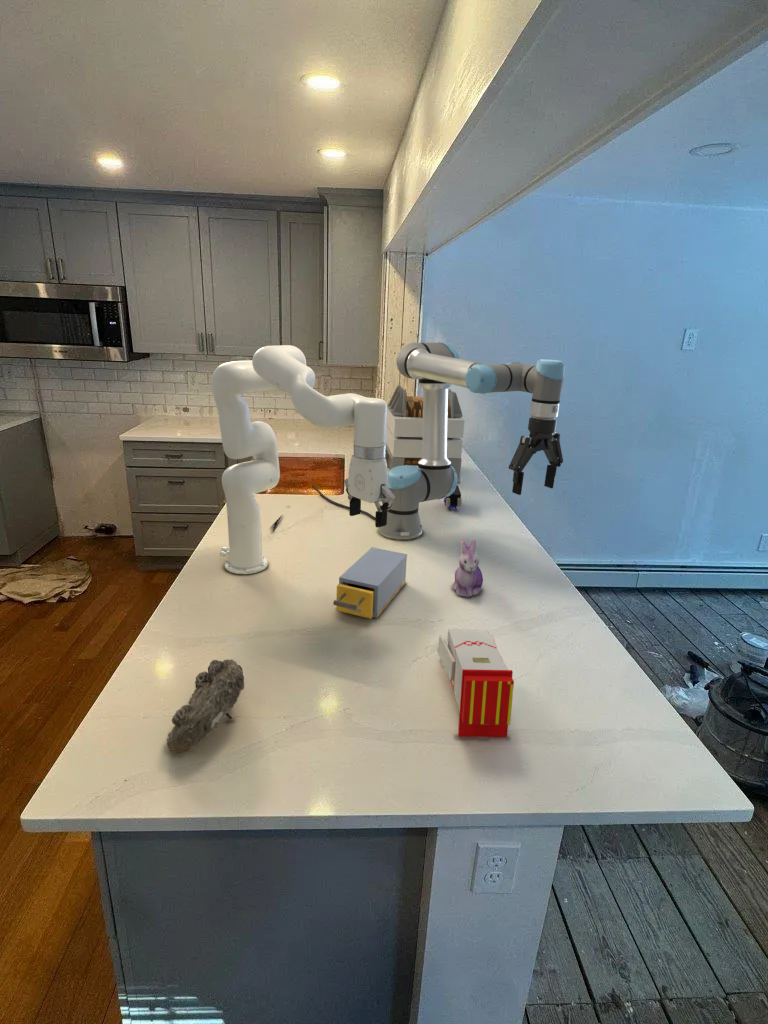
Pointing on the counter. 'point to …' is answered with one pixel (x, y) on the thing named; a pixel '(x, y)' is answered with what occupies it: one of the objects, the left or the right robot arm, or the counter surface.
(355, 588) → the drawer
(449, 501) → the figurine character
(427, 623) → the counter surface
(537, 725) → the counter surface
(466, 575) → the figurine
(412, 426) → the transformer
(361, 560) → the cabinet
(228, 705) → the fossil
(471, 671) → the toy
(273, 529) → the feather
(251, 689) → the counter surface
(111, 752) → the counter surface
